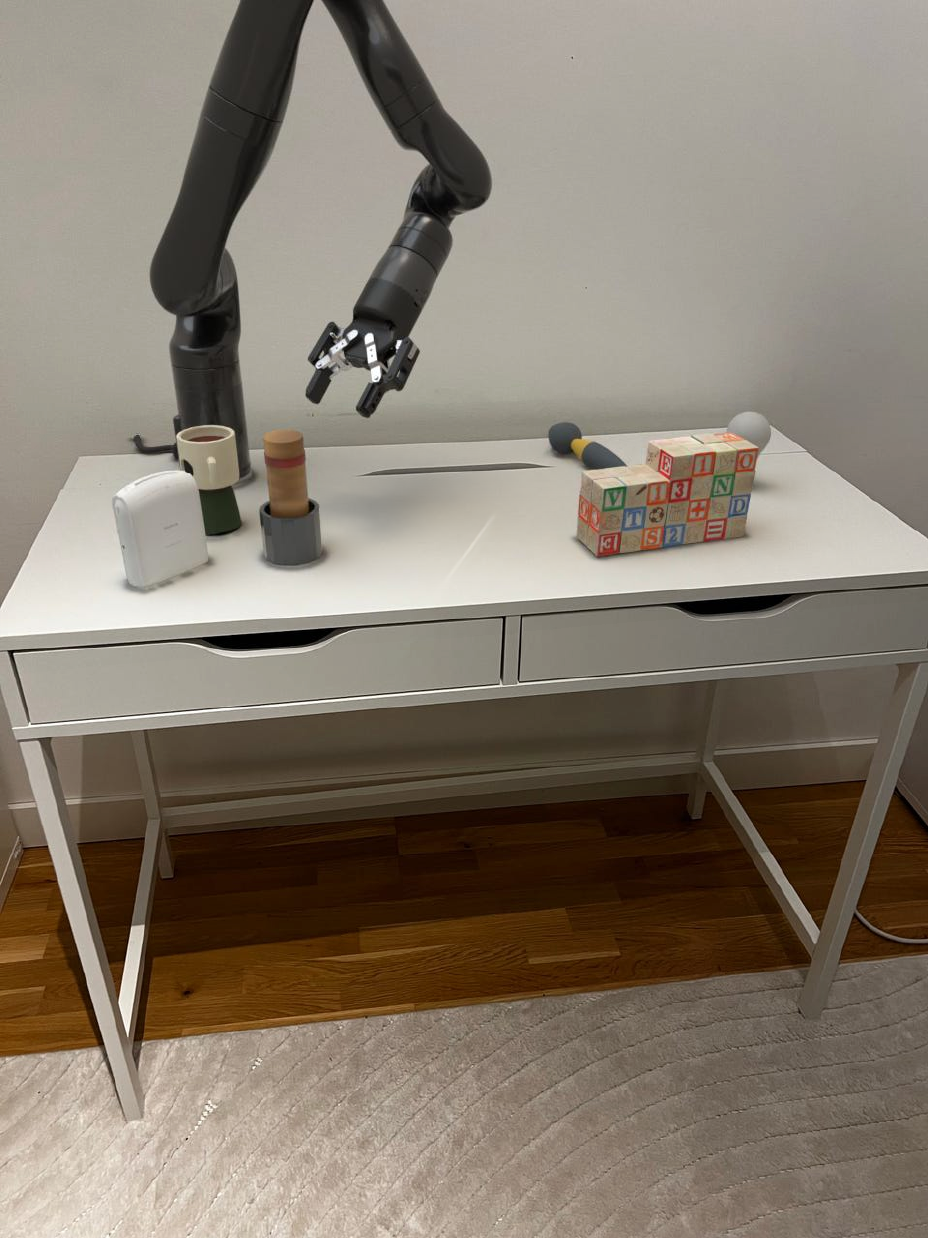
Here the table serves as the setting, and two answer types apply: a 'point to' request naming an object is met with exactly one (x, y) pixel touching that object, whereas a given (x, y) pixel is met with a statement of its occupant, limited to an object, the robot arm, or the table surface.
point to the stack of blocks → (669, 495)
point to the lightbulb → (751, 429)
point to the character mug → (212, 473)
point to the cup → (291, 536)
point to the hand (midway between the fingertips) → (336, 407)
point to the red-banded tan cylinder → (286, 473)
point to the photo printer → (160, 527)
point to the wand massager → (581, 447)
